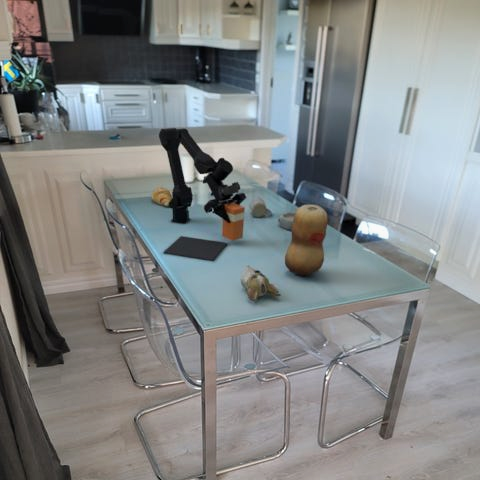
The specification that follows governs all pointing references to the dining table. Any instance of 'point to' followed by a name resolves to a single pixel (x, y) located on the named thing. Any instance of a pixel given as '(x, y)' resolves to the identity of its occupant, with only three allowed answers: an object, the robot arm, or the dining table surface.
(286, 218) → the dish
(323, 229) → the butternut squash
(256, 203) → the ceramic mug
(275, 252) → the dining table surface
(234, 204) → the packet
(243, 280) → the ceramic sculpture
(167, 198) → the croissant
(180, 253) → the mat
